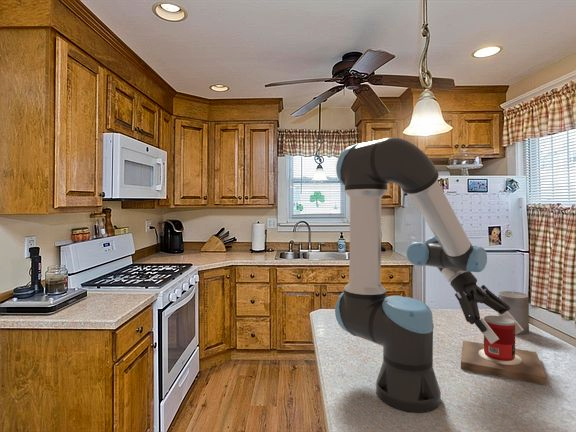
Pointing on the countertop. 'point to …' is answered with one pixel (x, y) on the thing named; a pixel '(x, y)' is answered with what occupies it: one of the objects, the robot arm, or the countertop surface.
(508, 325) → the canned food
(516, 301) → the pillar candle
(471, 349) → the board
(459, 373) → the countertop surface
